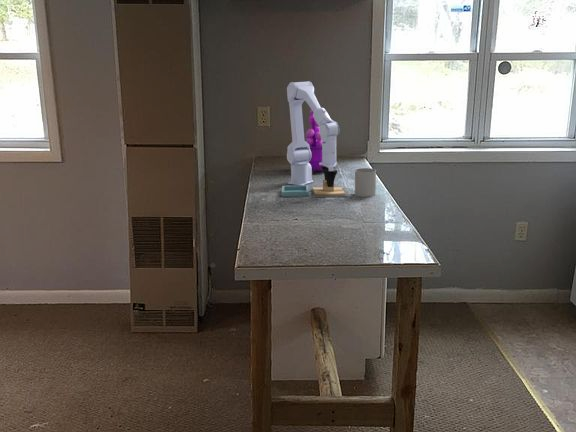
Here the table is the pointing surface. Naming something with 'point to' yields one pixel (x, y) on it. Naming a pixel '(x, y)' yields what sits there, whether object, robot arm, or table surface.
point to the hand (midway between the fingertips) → (329, 184)
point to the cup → (365, 182)
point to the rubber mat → (333, 195)
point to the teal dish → (295, 191)
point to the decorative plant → (314, 144)
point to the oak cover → (328, 190)
